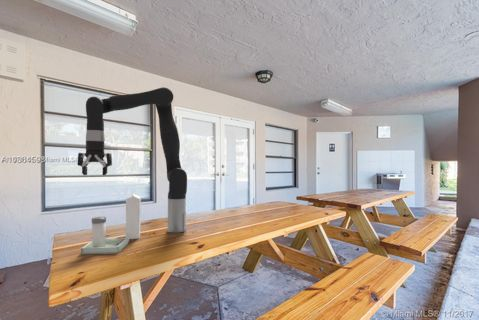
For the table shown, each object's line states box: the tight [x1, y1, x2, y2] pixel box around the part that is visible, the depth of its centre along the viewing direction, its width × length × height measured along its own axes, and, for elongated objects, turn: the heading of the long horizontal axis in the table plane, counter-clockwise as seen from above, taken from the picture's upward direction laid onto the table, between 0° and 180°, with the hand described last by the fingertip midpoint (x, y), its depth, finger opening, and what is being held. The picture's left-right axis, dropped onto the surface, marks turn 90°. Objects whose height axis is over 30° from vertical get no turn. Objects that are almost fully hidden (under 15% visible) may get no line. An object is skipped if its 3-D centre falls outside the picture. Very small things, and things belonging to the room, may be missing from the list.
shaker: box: [91, 216, 107, 247], centre depth 100 cm, size 5×5×12 cm
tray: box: [80, 237, 130, 256], centre depth 102 cm, size 14×12×2 cm
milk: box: [125, 191, 142, 240], centre depth 118 cm, size 6×6×22 cm
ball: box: [115, 236, 123, 245], centre depth 105 cm, size 3×3×3 cm
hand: (94, 175), depth 114 cm, fingers open, 8 cm apart
